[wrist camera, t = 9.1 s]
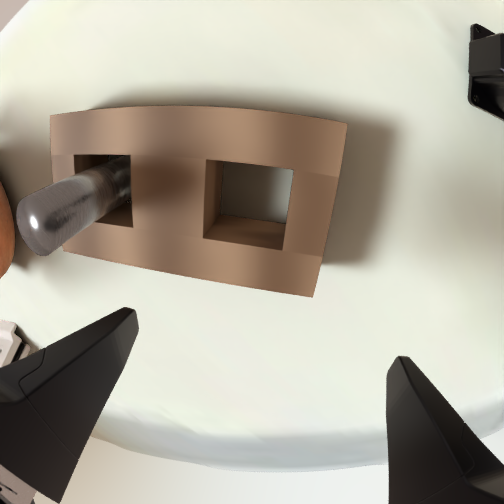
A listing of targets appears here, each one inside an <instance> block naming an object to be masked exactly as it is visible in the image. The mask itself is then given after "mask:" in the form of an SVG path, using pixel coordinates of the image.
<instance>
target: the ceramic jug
mask: <svg viewBox="0 0 504 504" xmlns="http://www.w3.org/2000/svg"><path fill="white" fill-rule="evenodd" d="M14 249H15V231H14V222H13V217H12V212H11V208H10V205H9V201H8V198H7V195H6V193H5V190H4V188H3V186H2V184H1V182H0V279H1V277H2V276H3V275H4V274H5V273H6V272H7V270H8V268H9V267H10V265H11V262H12V259H13V256H14Z"/></svg>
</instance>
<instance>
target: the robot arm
mask: <svg viewBox="0 0 504 504" xmlns="http://www.w3.org/2000/svg"><path fill="white" fill-rule="evenodd" d="M476 28H477V29H478V31H479V33H478V32H477V30H476ZM470 31H471V42H470V43H469V70H468V72H469V88H468V101H469V103H470V104H471V105H472V106H475V107H477V108H479V109H481V110H483V111H485V112H487V113H489V114H491V115H493V116H495V117H497V118H499V119H501V120H503V121H504V33H499V34H495V33H493V32H491V31H490V30H488V29H486V28H484V27H483V26H481V25H479V24H473V25H471V28H470ZM474 96H475V98H476V102H475V101H474V99H473V97H474ZM138 331H139V326H138V320H137V314H136V311H135V310H134V309H131V308H127V307H123V308H121V309H119V310H117V311H115V312H113V313H111V314H109V315H107V316H105V317H103V318H101V319H100V320H98V321H96V322H94V323H92V324H90V325H88V326H86V327H84V328H82V329H80V330H78V331H76V332H74V333H72V334H70V335H68V336H66V337H64V338H62V339H60V340H58V341H57V342H55V343H53V344H51V345H49V346H47V347H46V348H43V349H41V350H39V351H37V352H35V353H33V354H31V355H29V356H27V357H25V358H22V359H20V360H18V361H15V362H13V363H10V364H8V365H5V366H3V367H0V504H35V503H34V500H33V497H34V495H35V493H36V491H38V492H40V493H42V494H43V495H45V496H46V497H48V498H50V499H51V500H53V501H55V502H57V503H58V504H59V503H60V502H61V500H62V497H63V495H64V492H65V490H66V488H67V485H68V483H69V481H70V478H71V476H72V474H73V472H74V469H75V467H76V465H77V463H78V459H79V458H80V455H81V453H82V451H83V449H84V447H85V445H86V443H87V440H88V439H89V436H90V434H91V432H92V430H93V428H94V426H95V424H96V422H97V420H98V418H99V416H100V414H101V412H102V410H103V408H104V406H105V404H106V402H107V400H108V398H109V396H110V394H111V392H112V390H113V388H114V386H115V384H116V382H117V381H118V379H119V377H120V375H121V373H122V371H123V369H124V367H125V364H126V362H127V359H128V357H129V354H130V352H131V349H132V347H133V344H134V342H135V339H136V337H137V334H138ZM386 381H387V382H386V423H387V438H388V462H389V504H504V465H503V464H502V463H501V462H500V461H499V460H498V458H496V456H494V454H493V453H492V452H491V451H490V450H489V449H488V448H487V447H486V446H485V445H484V444H483V443H482V442H481V441H480V439H479V438H478V437H477V436H476V435H475V434H474V433H473V431H472V430H471V429H470V428H469V427H468V425H467V424H466V423H464V421H463V419H462V418H461V417H460V416H459V414H458V413H457V412H456V411H455V410H454V408H453V407H452V406H451V405H450V404H449V403H448V401H447V400H446V399H445V398H444V397H443V395H442V394H441V393H440V392H439V391H438V390H437V388H436V387H435V386H434V385H433V384H432V383H431V382H430V380H429V379H428V378H427V377H426V376H425V375H424V373H423V372H422V371H421V370H420V369H419V368H418V367H417V366H416V364H415V363H414V362H413V361H412V360H411V359H410V358H409V357H407V356H398V357H396V359H395V360H394V362H393V364H392V365H391V367H390V369H389V370H388V373H387V378H386Z"/></svg>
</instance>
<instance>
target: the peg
mask: <svg viewBox="0 0 504 504" xmlns="http://www.w3.org/2000/svg"><path fill="white" fill-rule="evenodd" d="M131 198H132V194H131V155H125V156H122V157H119V158H117V159H114V160H111V161H108V162H105V163H103V164H100V165H97V166H95V167H92V168H90V169H87V170H85V171H82V172H80V173H77V174H75V175H72V176H70V177H68V178H65V179H63V180H61V181H58V182H56V183H54V184H52V185H49V186H47V187H45V188H43V189H41V190H39V191H36V192H34V193H32V194H30V195H28V196H26V197H24V198H23V199H21V201H20V202H19V204H18V207H17V224H18V228H19V231H20V234H21V236H22V238H23V240H24V242H25V243H26V245H27V246H28V247H29V248H30V249H31V250H32V251H33V252H35V253H36V254H38V255H41V256H46V255H49V254H50V253H52V252H53V251H54V250H56V249H57V248H58V247H60V246H61V245H62V244H64V243H65V242H66V241H68V240H69V239H71V238H72V237H73V236H75V235H76V234H78V233H79V232H81V231H82V230H83V229H85V228H86V227H88V226H89V225H91V224H92V223H94V222H95V221H97V220H98V219H100V218H101V217H103V216H104V215H106V214H107V213H109V212H110V211H112V210H114V209H115V208H117V207H118V206H120V205H121V204H123V203H125V202H126V201H128V200H129V199H131Z"/></svg>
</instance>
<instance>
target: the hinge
mask: <svg viewBox="0 0 504 504" xmlns="http://www.w3.org/2000/svg"><path fill="white" fill-rule="evenodd" d="M16 327H17V325H16V323H13V322H9V321H5V320H1V319H0V367H3V366H5V365H8V364H10V363H13V362H15V361H18V360H20V359H22V358H25V357H27V355H28V353H29V351H30V349H31V348H30V346H29V345H28V344H26V343H23V342H21V341H22V339H21V338H19V337H18V336H17V335H16V334H14V331H15V329H16Z"/></svg>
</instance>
